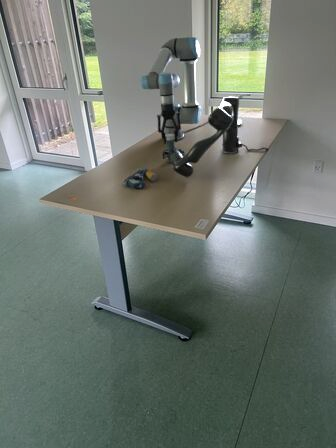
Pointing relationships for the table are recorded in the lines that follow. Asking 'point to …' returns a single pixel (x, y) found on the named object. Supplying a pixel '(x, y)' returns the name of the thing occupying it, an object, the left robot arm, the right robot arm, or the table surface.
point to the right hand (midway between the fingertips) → (170, 149)
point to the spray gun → (139, 178)
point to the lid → (170, 137)
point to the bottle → (170, 146)
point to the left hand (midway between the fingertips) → (170, 142)
